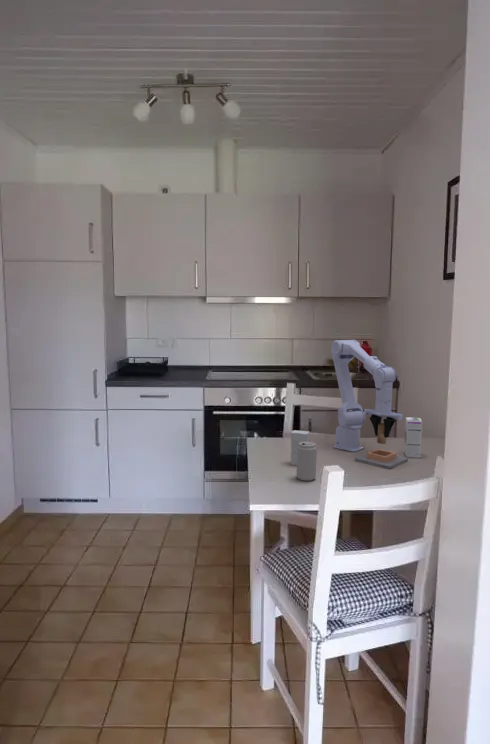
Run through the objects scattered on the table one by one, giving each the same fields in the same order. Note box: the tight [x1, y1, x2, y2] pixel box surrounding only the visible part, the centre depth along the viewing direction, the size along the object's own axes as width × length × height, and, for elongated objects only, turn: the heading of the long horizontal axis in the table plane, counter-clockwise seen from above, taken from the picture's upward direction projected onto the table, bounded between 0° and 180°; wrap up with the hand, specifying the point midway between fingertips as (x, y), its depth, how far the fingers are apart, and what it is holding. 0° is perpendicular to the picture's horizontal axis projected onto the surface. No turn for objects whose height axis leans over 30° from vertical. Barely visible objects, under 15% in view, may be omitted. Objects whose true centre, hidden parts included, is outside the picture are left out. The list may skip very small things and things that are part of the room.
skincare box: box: [290, 429, 311, 466], centre depth 185 cm, size 6×4×12 cm
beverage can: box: [296, 441, 318, 482], centre depth 169 cm, size 6×6×12 cm
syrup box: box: [403, 416, 423, 459], centre depth 197 cm, size 6×6×14 cm
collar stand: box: [354, 448, 409, 470], centre depth 191 cm, size 14×14×3 cm
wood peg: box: [376, 422, 387, 445], centre depth 189 cm, size 3×3×7 cm
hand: (381, 436), depth 189 cm, fingers closed on wood peg, 3 cm apart
